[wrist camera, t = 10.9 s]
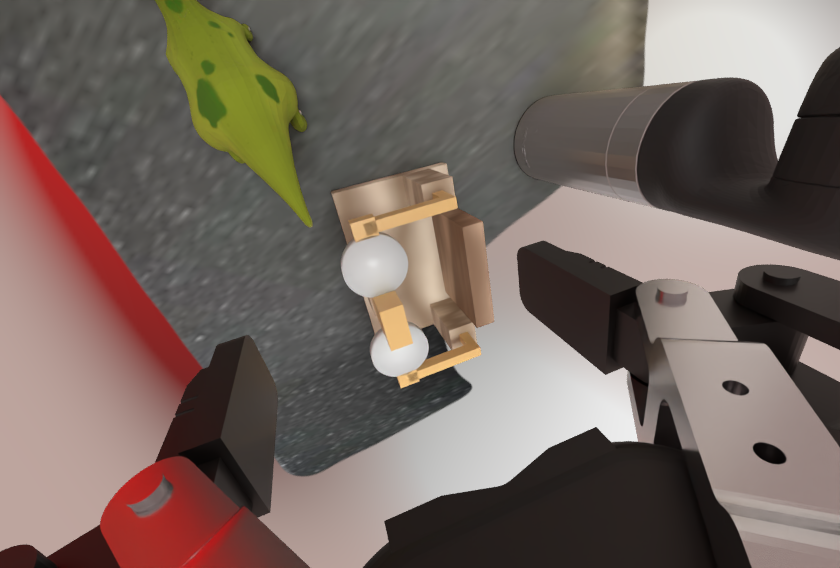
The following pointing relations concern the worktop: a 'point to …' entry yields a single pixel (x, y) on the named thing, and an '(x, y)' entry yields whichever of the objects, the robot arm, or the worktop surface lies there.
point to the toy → (235, 95)
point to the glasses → (379, 278)
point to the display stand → (428, 252)
